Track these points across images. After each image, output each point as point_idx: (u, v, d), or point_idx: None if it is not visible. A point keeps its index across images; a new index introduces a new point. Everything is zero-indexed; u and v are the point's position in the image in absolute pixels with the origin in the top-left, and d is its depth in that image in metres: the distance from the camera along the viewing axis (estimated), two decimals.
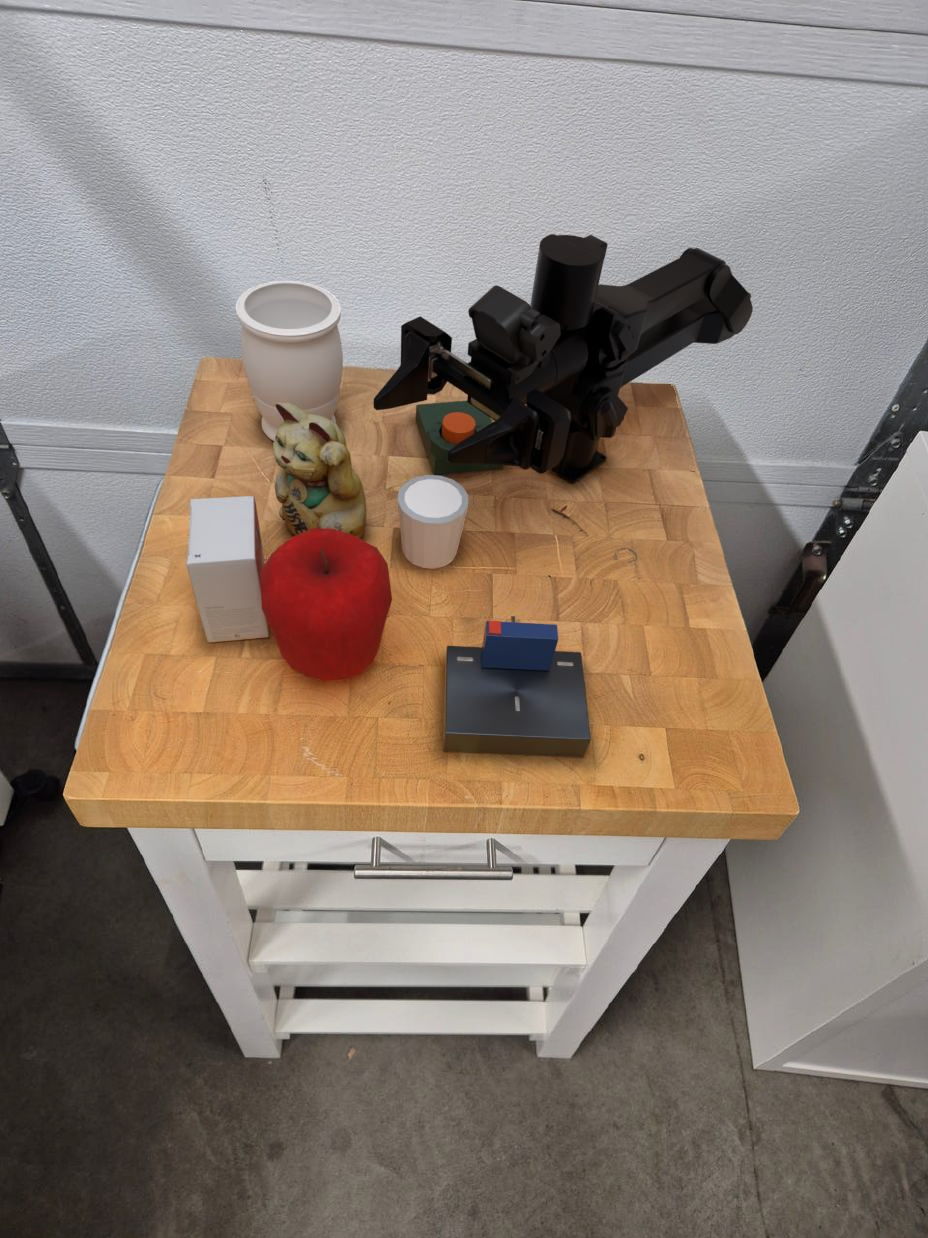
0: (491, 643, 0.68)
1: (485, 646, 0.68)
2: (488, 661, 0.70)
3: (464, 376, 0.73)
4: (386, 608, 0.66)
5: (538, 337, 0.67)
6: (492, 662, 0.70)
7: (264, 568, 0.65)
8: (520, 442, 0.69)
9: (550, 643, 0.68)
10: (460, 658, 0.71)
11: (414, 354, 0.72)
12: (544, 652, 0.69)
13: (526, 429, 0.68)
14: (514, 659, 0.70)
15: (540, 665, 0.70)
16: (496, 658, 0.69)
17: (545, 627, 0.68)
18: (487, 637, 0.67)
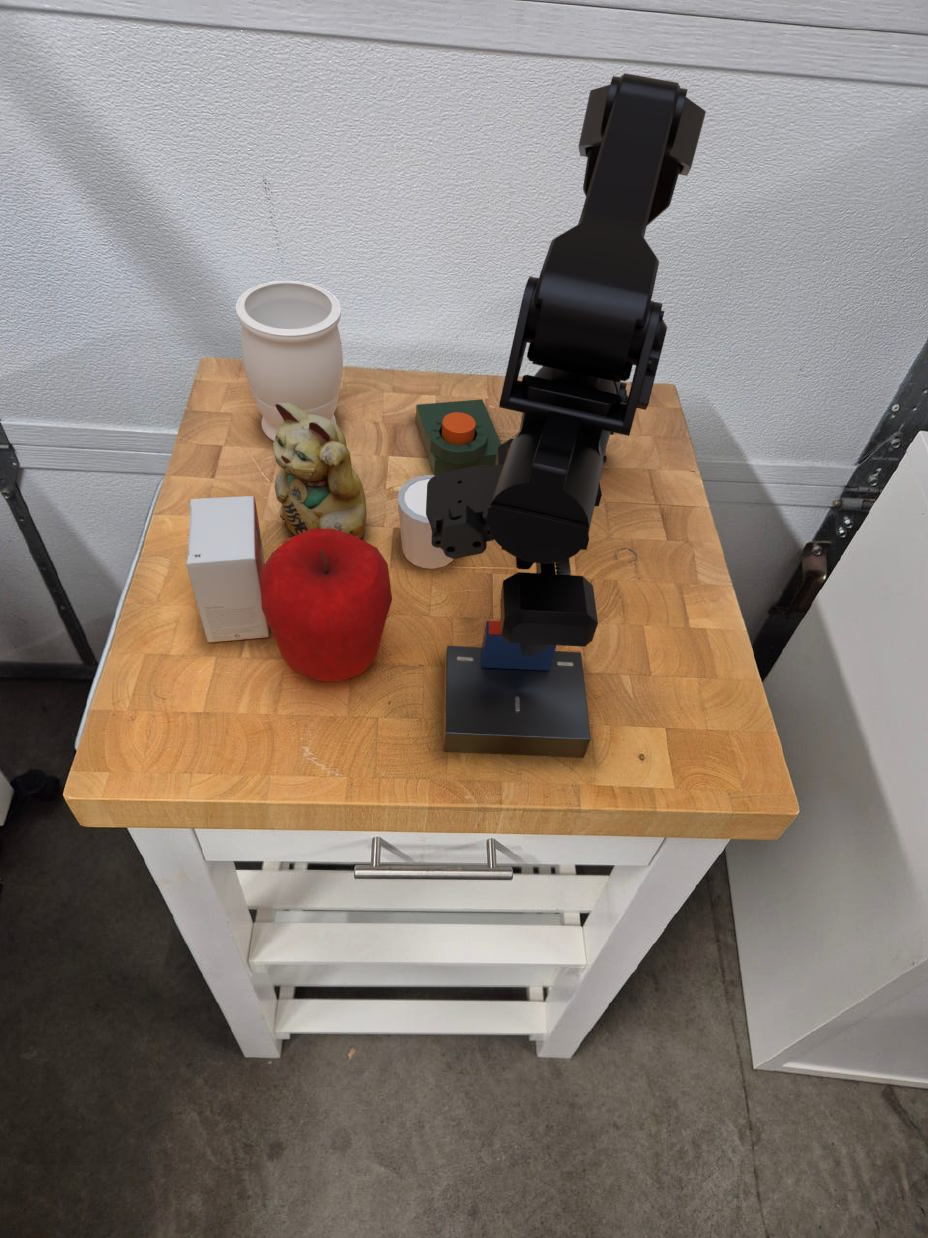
0: (491, 643, 0.68)
1: (485, 646, 0.68)
2: (488, 661, 0.70)
3: None
4: (386, 608, 0.66)
5: (447, 555, 0.55)
6: (492, 662, 0.70)
7: (264, 568, 0.65)
8: None
9: None
10: (460, 658, 0.71)
11: None
12: (544, 652, 0.69)
13: None
14: (514, 659, 0.70)
15: (540, 665, 0.70)
16: (496, 658, 0.69)
17: None
18: (487, 637, 0.67)
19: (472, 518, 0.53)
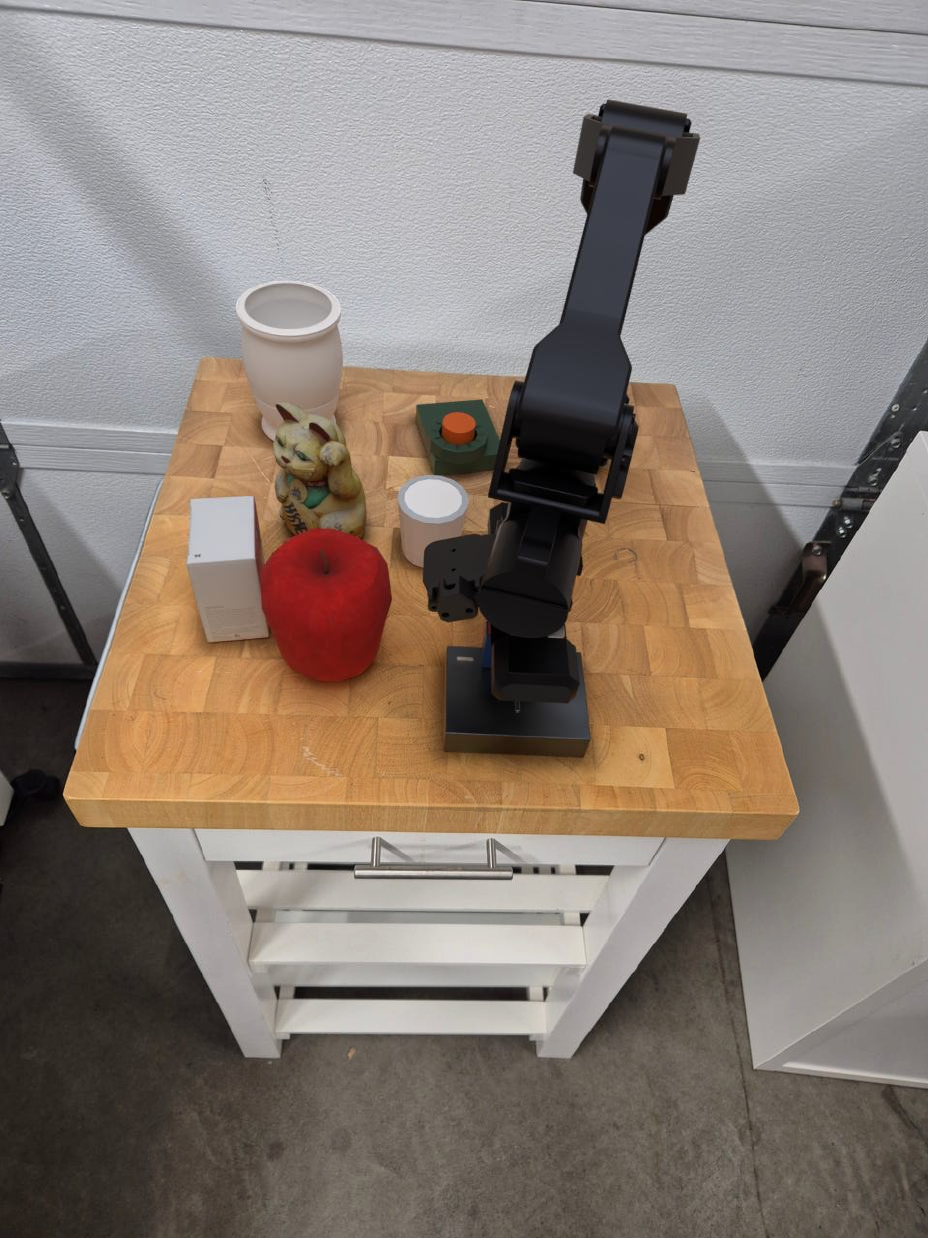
0: None
1: (485, 646, 0.68)
2: (488, 661, 0.70)
3: None
4: (386, 608, 0.66)
5: (442, 619, 0.60)
6: None
7: (264, 568, 0.65)
8: None
9: None
10: (460, 658, 0.71)
11: None
12: None
13: None
14: None
15: None
16: None
17: None
18: (487, 637, 0.67)
19: (465, 587, 0.59)
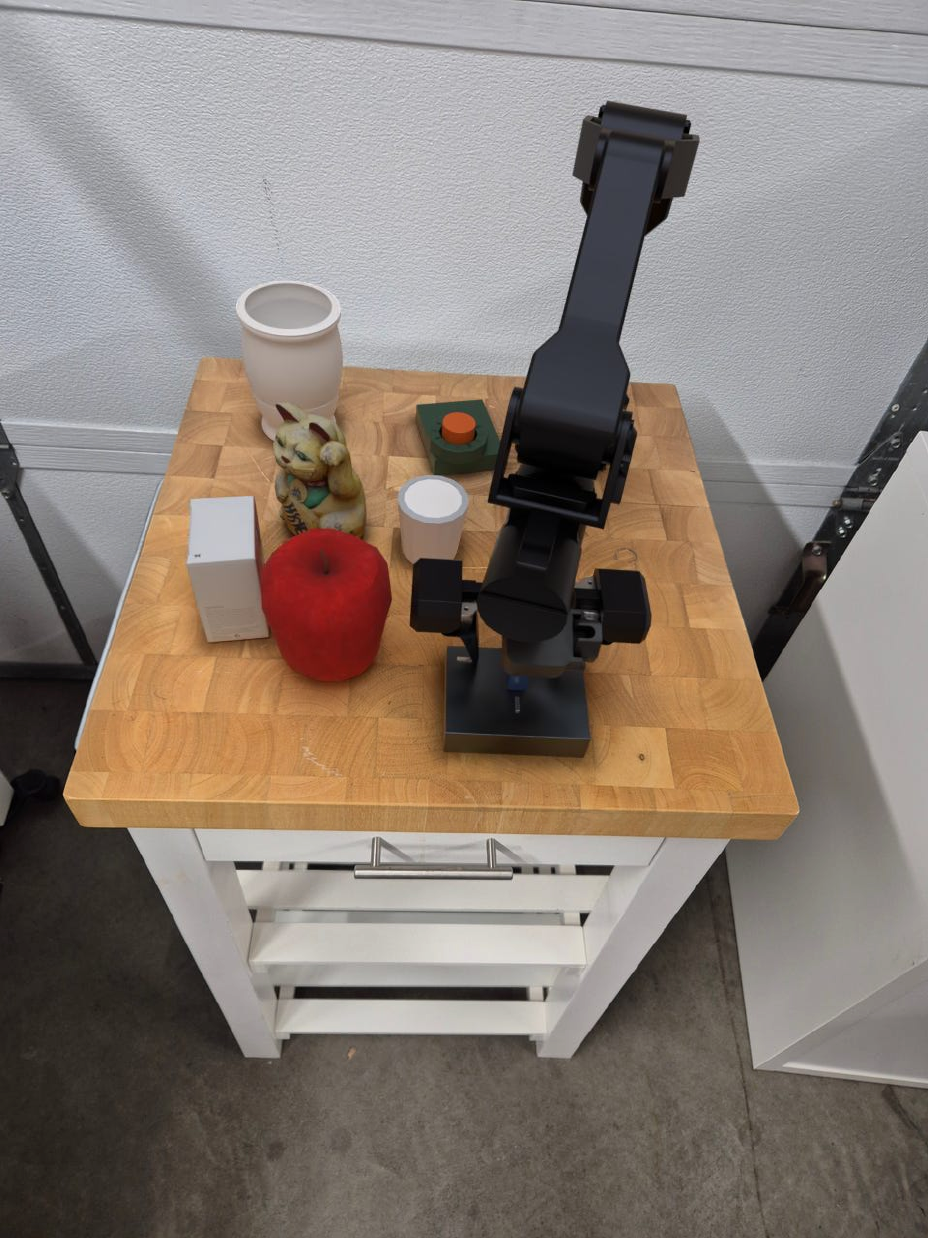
0: None
1: None
2: None
3: None
4: (386, 608, 0.66)
5: None
6: None
7: (264, 568, 0.65)
8: None
9: None
10: (460, 658, 0.71)
11: None
12: None
13: None
14: None
15: None
16: None
17: None
18: None
19: (587, 621, 0.58)
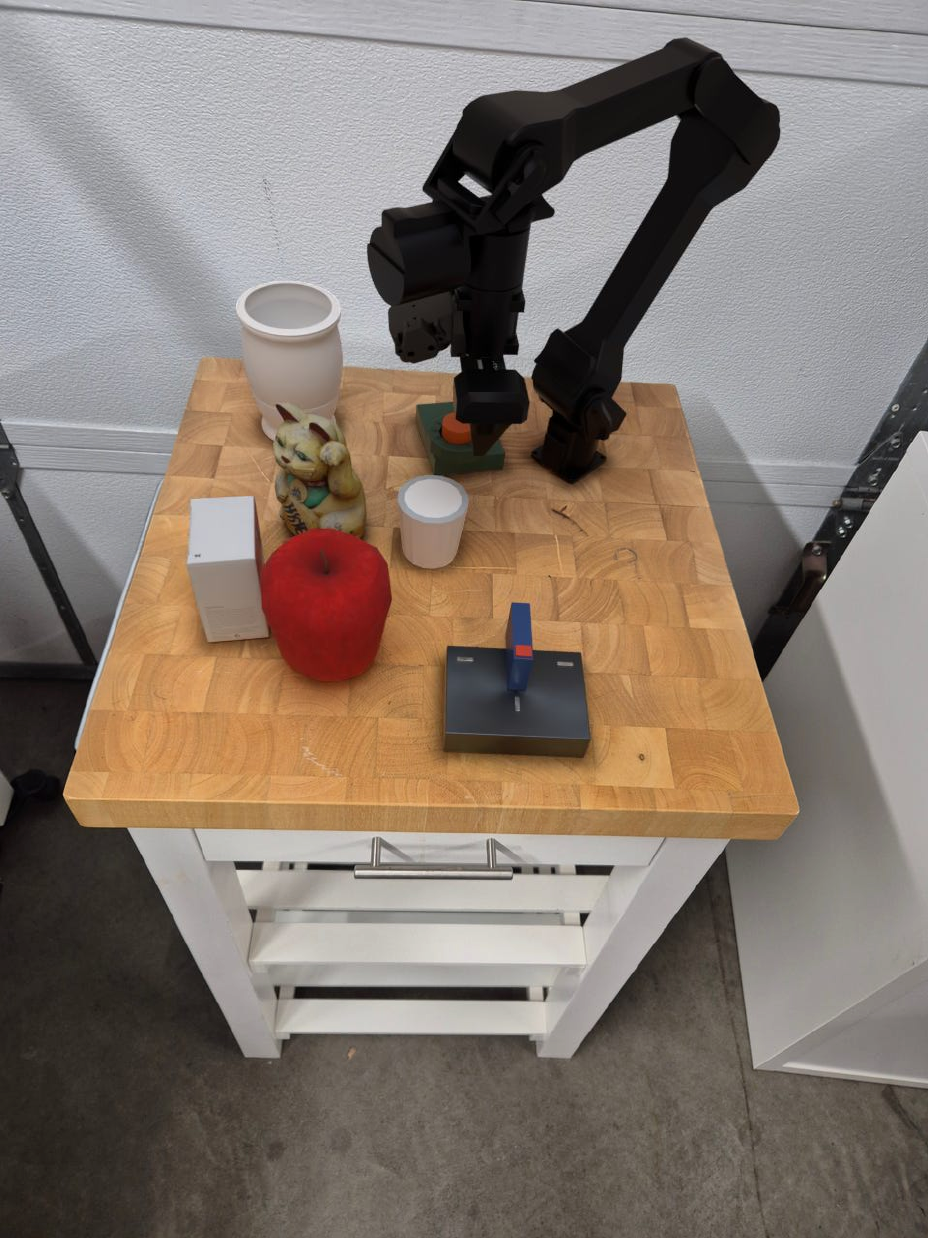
0: None
1: (530, 669, 0.67)
2: None
3: None
4: (386, 608, 0.66)
5: (408, 359, 0.69)
6: None
7: (264, 568, 0.65)
8: None
9: None
10: (460, 658, 0.71)
11: None
12: None
13: None
14: None
15: None
16: None
17: (516, 611, 0.69)
18: (532, 660, 0.66)
19: (426, 326, 0.68)
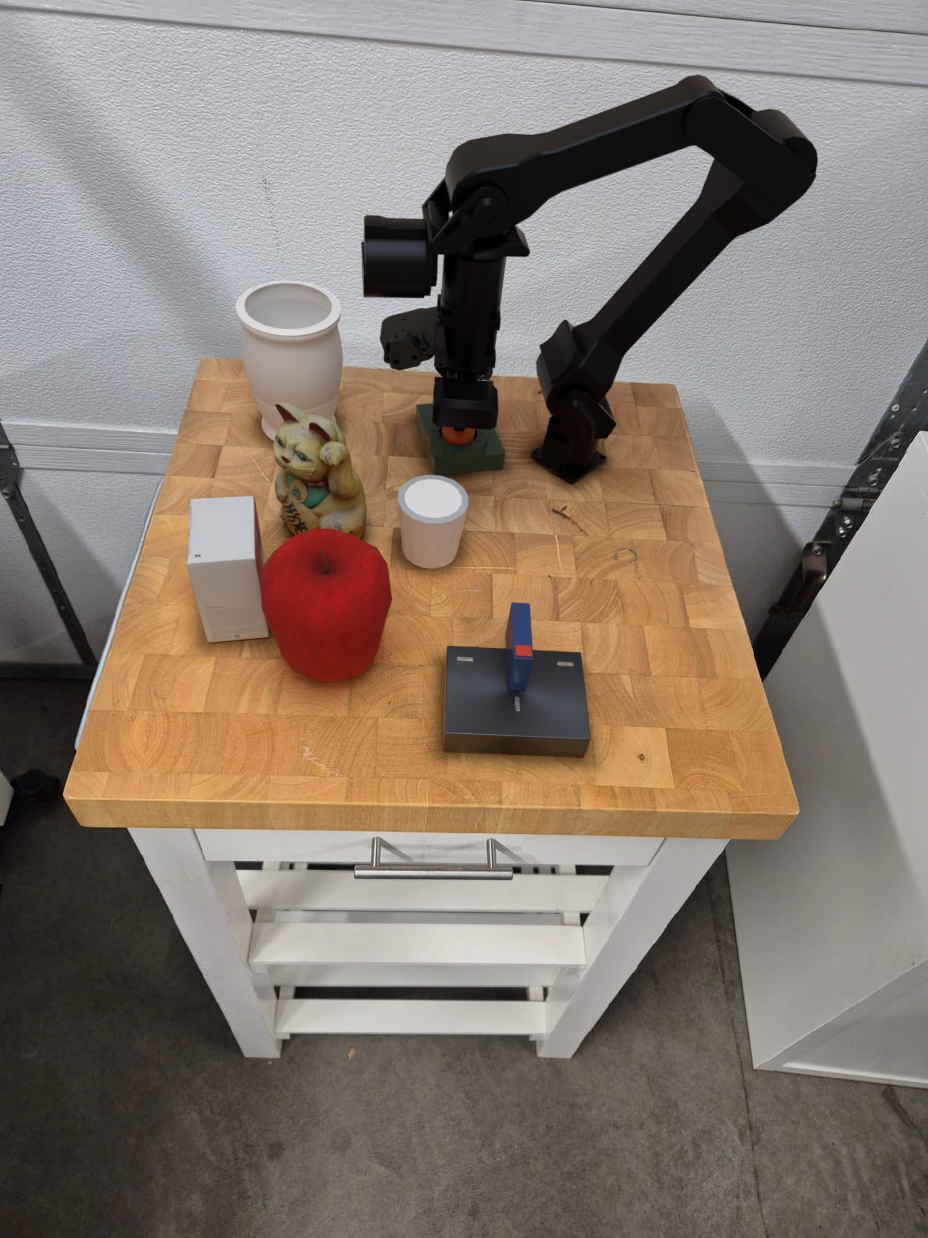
0: None
1: (530, 669, 0.67)
2: None
3: None
4: (386, 608, 0.66)
5: (394, 367, 0.78)
6: None
7: (264, 568, 0.65)
8: None
9: None
10: (460, 658, 0.71)
11: None
12: None
13: None
14: None
15: None
16: None
17: (516, 611, 0.69)
18: (532, 660, 0.66)
19: (410, 338, 0.77)
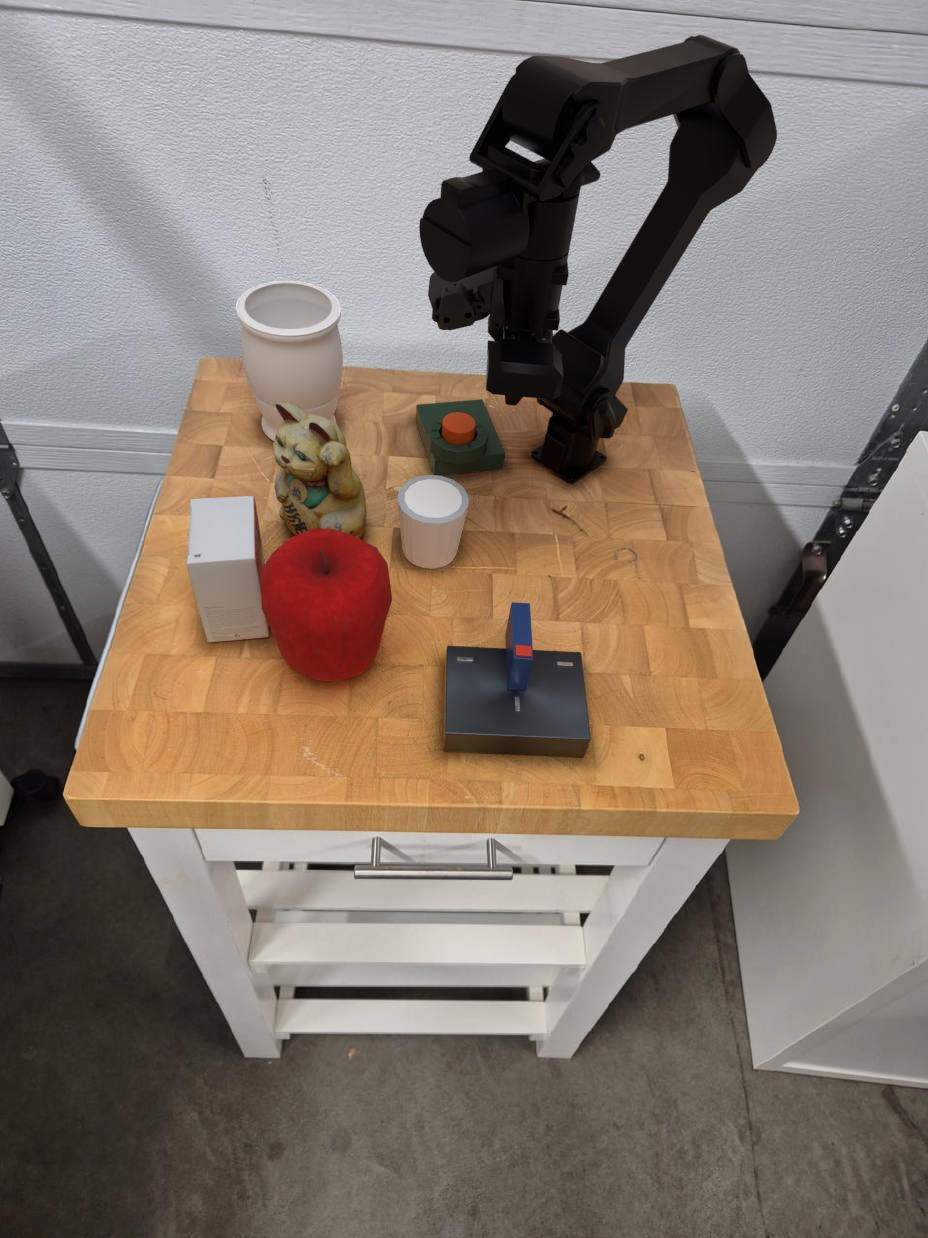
0: None
1: (530, 669, 0.67)
2: None
3: None
4: (386, 608, 0.66)
5: (444, 325, 0.68)
6: None
7: (264, 568, 0.65)
8: None
9: None
10: (460, 658, 0.71)
11: None
12: None
13: None
14: None
15: None
16: None
17: (516, 611, 0.69)
18: (532, 660, 0.66)
19: (464, 292, 0.67)
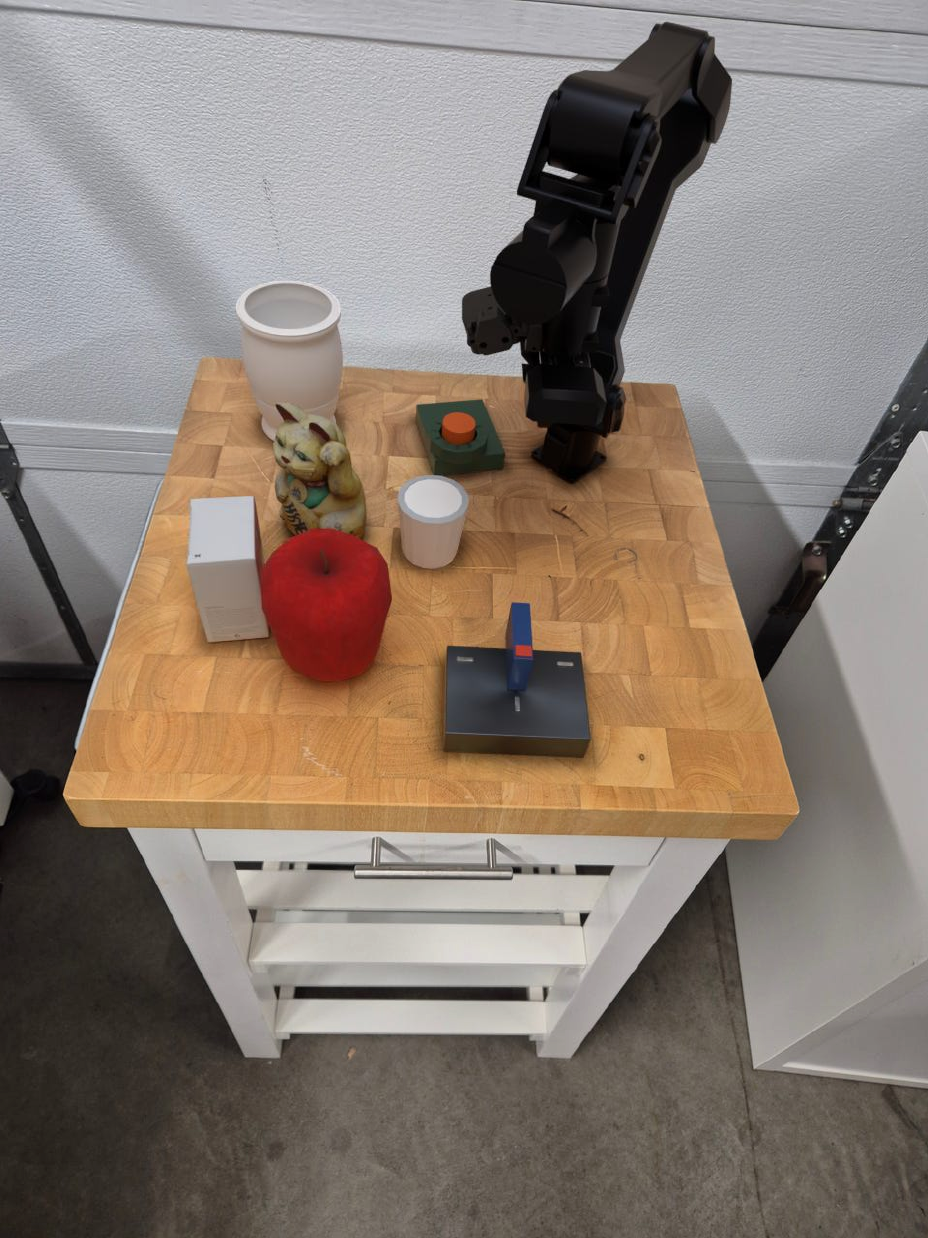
0: None
1: (530, 669, 0.67)
2: None
3: None
4: (386, 608, 0.66)
5: (480, 351, 0.66)
6: None
7: (264, 568, 0.65)
8: None
9: None
10: (460, 658, 0.71)
11: None
12: None
13: None
14: None
15: None
16: None
17: (516, 611, 0.69)
18: (532, 660, 0.66)
19: (501, 316, 0.64)
